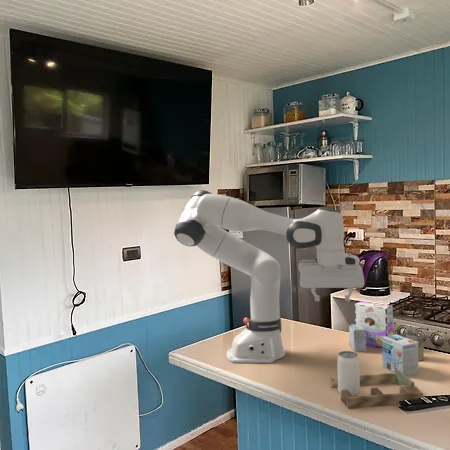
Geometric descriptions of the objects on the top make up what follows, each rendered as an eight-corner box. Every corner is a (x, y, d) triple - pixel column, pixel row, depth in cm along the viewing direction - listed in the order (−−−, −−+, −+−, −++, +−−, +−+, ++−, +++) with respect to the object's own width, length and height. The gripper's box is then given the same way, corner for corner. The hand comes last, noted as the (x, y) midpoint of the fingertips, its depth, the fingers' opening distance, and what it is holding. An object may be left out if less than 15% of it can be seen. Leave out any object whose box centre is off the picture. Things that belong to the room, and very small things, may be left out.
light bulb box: (381, 366, 163) (381, 336, 162) (397, 363, 165) (396, 333, 164) (403, 377, 153) (402, 345, 152) (419, 373, 155) (419, 342, 154)
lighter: (426, 360, 167) (425, 332, 167) (418, 362, 165) (418, 334, 165) (410, 354, 173) (409, 328, 173) (402, 356, 172) (402, 329, 171)
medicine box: (366, 351, 178) (365, 329, 178) (354, 352, 178) (353, 330, 178) (360, 345, 186) (360, 323, 186) (349, 345, 186) (348, 324, 186)
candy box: (394, 346, 183) (393, 305, 182) (387, 350, 179) (386, 308, 178) (362, 339, 193) (361, 300, 192) (354, 343, 189) (354, 303, 188)
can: (356, 387, 146) (355, 350, 145) (362, 396, 139) (362, 357, 139) (335, 388, 146) (334, 351, 145) (341, 397, 139) (340, 358, 138)
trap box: (347, 408, 132) (347, 395, 132) (330, 386, 148) (330, 373, 147) (422, 403, 133) (422, 389, 133) (397, 381, 149) (397, 369, 149)
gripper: (297, 260, 148) (299, 303, 149) (364, 259, 144) (365, 303, 145) (298, 257, 154) (300, 299, 155) (362, 256, 150) (363, 299, 151)
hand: (332, 301), depth 150 cm, fingers open, 8 cm apart
